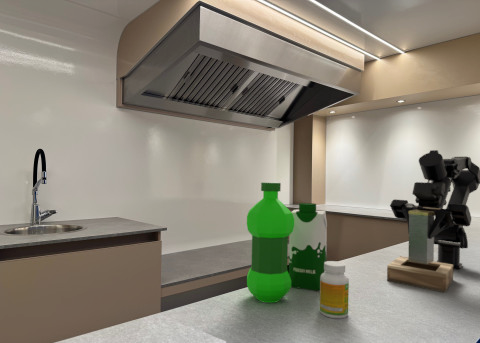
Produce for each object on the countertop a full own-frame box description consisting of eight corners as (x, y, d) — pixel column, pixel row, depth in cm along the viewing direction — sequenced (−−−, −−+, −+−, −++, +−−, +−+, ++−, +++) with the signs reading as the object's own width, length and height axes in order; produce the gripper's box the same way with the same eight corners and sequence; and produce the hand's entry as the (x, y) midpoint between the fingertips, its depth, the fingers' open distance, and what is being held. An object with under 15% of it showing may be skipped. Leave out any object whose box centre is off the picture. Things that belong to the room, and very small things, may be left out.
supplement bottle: (349, 320, 62) (350, 268, 63) (319, 317, 64) (321, 266, 64) (346, 309, 68) (347, 261, 68) (319, 306, 69) (320, 259, 69)
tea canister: (415, 257, 91) (415, 209, 91) (434, 261, 88) (434, 211, 88) (407, 260, 88) (408, 210, 88) (427, 264, 85) (428, 212, 85)
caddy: (400, 270, 97) (400, 256, 97) (452, 279, 89) (453, 264, 89) (387, 280, 87) (387, 265, 87) (445, 292, 79) (445, 275, 79)
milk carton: (285, 288, 80) (287, 203, 80) (292, 277, 88) (294, 200, 88) (323, 293, 77) (325, 205, 77) (327, 281, 85) (328, 202, 86)
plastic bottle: (300, 296, 74) (302, 183, 74) (275, 311, 66) (278, 183, 66) (262, 286, 80) (264, 181, 80) (235, 299, 72) (237, 182, 72)
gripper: (393, 171, 98) (374, 212, 90) (468, 172, 84) (453, 220, 76) (404, 197, 103) (387, 238, 96) (477, 202, 89) (463, 250, 82)
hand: (419, 236), depth 87 cm, fingers closed on tea canister, 4 cm apart
